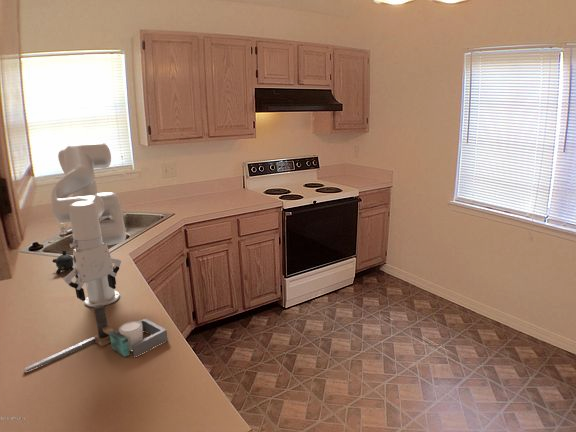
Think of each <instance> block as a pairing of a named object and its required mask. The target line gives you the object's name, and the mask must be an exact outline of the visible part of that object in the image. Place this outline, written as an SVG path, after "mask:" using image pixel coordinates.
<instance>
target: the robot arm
mask: <svg viewBox="0 0 576 432" xmlns="http://www.w3.org/2000/svg"><path fill="white" fill-rule="evenodd" d="M57 156H58V157H57V158H58V162H59V165H60V167H61V170H62V171H63V173H64V175H63V176H62V177H61V178H60V179H59V180H58V181H57V182H56V183H55V184H54V186H53V188H52V189H51V195H50V196H51V197H50V200H51V202H50V203H51V213H52V216H53V219H55V220H56V221H57V222H58V223H64V224H65V223H70V226H71V231H72V236H73V237H72V238H73V241H72V242H71V243H69V247H70V248H71V249H72V248H73V253H72V257H73V268H74V270H72V271H70V272H69V273H68V274H67V275H66V276H65V277H63V279H62V280H63V281H64V282H65V284H67V285H68V286H69V287H70V288H73V289H74V290H75V295H76V297H77V299H78V300H80V301H82V302H84V306H87V307H91V308H94V307H96V306H98V305H104V307H106V306H108V305H110V304H113V303H115V302H116V301H118V300H119V299H120V293H119V291H117V290H116V288H117V287H116V285H117V281H116V277H117V274H118V272H119V270H120V267H121V264H122V260H120V259H117V258H112V257H111V253H110V251H109V248H108V246H111V245H117V244H121V243H123V242H125V240H126V238H127V236H126V235H127V233H126V226H125V220H124V215H123V209H122V205H121V200H120V197H119V195H118V194H117V193H115V192H111V191H110V192H108V191H107V192H98V187H97V182H96V180H95V170H96V169H106V168H109V167H110V165H111V163H112V154H111V150H110V148H109V147H108V145H107V143H104V142H99V141H98V142H97V141H96V142H95V141H94V142H81V143H77V142H76V143H72V144H69V145H68V146H66V147H65V148H63V149H61V150H60V151H59V152H58V154H57ZM70 195H72V196H70ZM102 218H109V219H107V220H100V219H102ZM113 264H114V265H113ZM73 278H75V281H74V282H73V281H72V279H73ZM84 284H85V285H86V291H87V292H86V293H87V296H85V291H84V288H83V286H84Z"/></svg>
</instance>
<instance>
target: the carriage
mask: <svg viewBox="0 0 576 432" xmlns="http://www.w3.org/2000/svg"><path fill="white" fill-rule="evenodd" d="M93 309H94V316H95V317H94V318H95V323H96V328H97V329H96V330H97V334H96V335H94V336H93V337H94V340H95V342H94V343H96V344H97V345H99V346H100V347H104V346H106V345H108V344H111V349H113V350H114V351H115V352H117V353H118V354H120V355H121V356H123V357H124V358H125V357H127V356H129V355H130V352H129V346H128V340H127V338H126V337H125V336H123V335H121V334H120V333H118V332H117V331H118V330H114V329H113V328H112V327H110V326H109V325H108V320H107V313H106V306H104V305H98V306H96V307H93Z"/></svg>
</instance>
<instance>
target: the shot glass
mask: <svg viewBox="0 0 576 432" xmlns="http://www.w3.org/2000/svg"><path fill="white" fill-rule="evenodd" d="M139 321H140V320H138V321H136V320H134V321H128V322H124V323H123V324H121V325H120V326H119V327H118V330H119V332H120V334H121V335H123V336H125V337H126V338H127V340H128V346H129V351H130V352H132V351H131V350H133V349H132V345H133V344H135V343H137V342H139V341H141V340H143V339H144V332H143V328H142V323H141V322H139Z"/></svg>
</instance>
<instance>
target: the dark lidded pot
mask: <svg viewBox="0 0 576 432" xmlns="http://www.w3.org/2000/svg"><path fill="white" fill-rule="evenodd" d="M61 252H62V253H61V255H59V256H58V257H57V258H53V259H52V263H55V266H56V267H57V269H56V270H55V273H56V275H58V274H60V273H61V272H64V271H70V272H71V271H72V270H74V266H73V255H72V256H71V254H68V253H67V250H66V249H62V251H61Z"/></svg>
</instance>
